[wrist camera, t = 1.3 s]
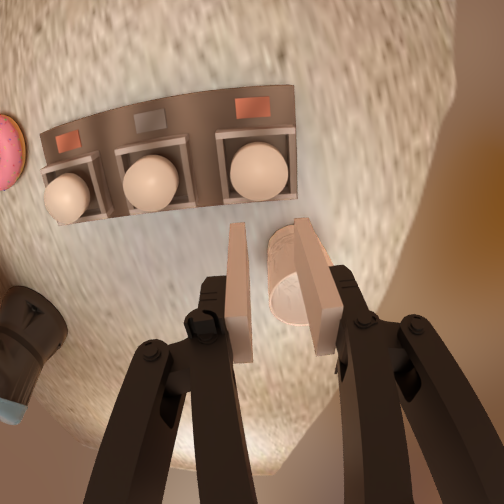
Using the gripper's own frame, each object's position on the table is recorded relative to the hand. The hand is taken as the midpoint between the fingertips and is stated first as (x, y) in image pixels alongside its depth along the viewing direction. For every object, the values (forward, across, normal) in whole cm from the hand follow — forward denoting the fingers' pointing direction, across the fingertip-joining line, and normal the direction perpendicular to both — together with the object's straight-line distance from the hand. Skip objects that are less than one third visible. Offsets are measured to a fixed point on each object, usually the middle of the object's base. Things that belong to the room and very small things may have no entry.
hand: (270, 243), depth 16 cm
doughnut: (+19, -34, +7) cm, 40 cm away
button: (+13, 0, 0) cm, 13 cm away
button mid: (+13, -10, 0) cm, 17 cm away
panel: (+19, -10, +2) cm, 21 cm away
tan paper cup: (+19, +4, -12) cm, 23 cm away
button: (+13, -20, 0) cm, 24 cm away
